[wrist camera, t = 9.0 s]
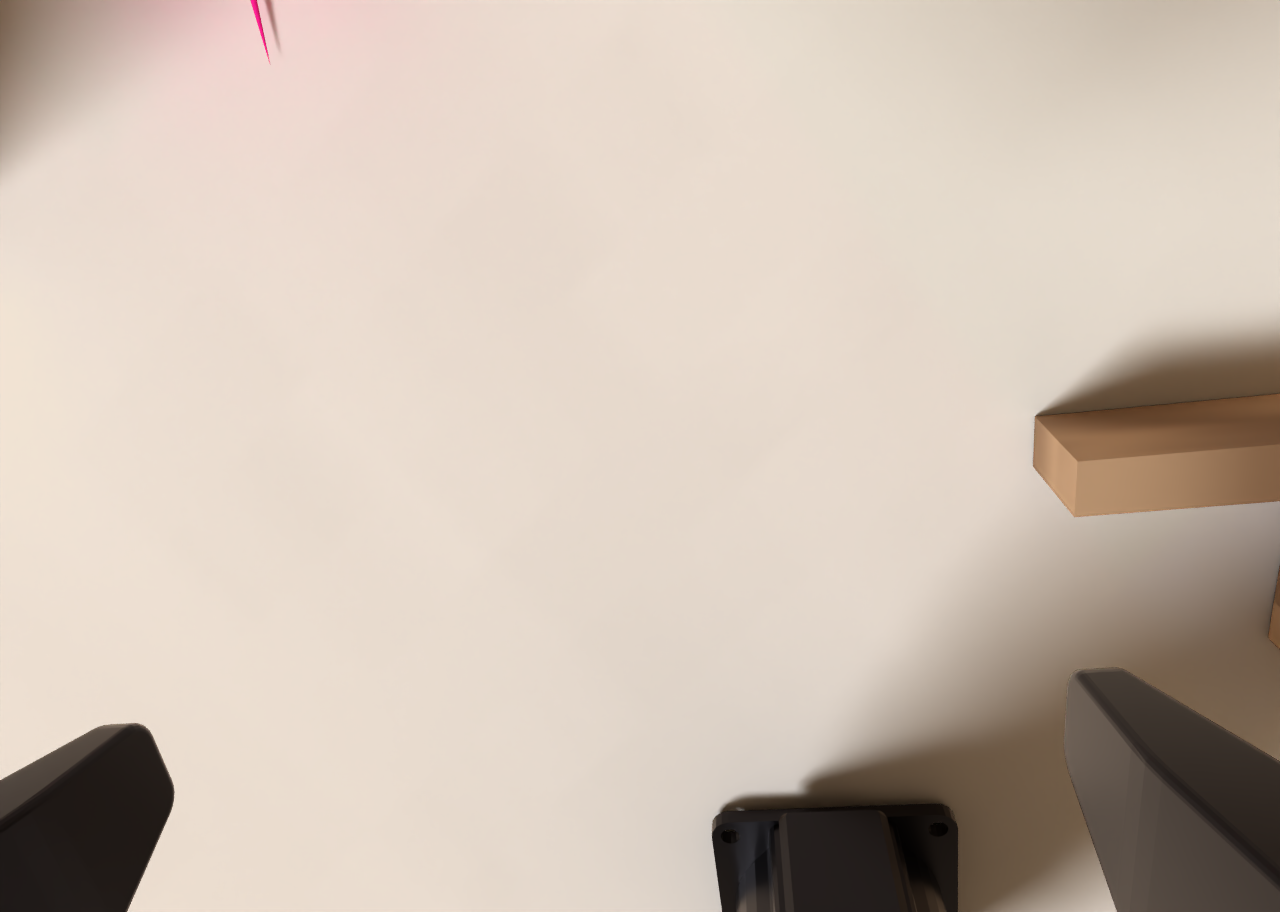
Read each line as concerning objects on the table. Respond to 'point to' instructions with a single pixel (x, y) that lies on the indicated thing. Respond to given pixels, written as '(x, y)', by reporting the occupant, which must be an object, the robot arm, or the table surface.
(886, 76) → the table surface
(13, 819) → the robot arm
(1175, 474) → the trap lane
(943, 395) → the table surface
